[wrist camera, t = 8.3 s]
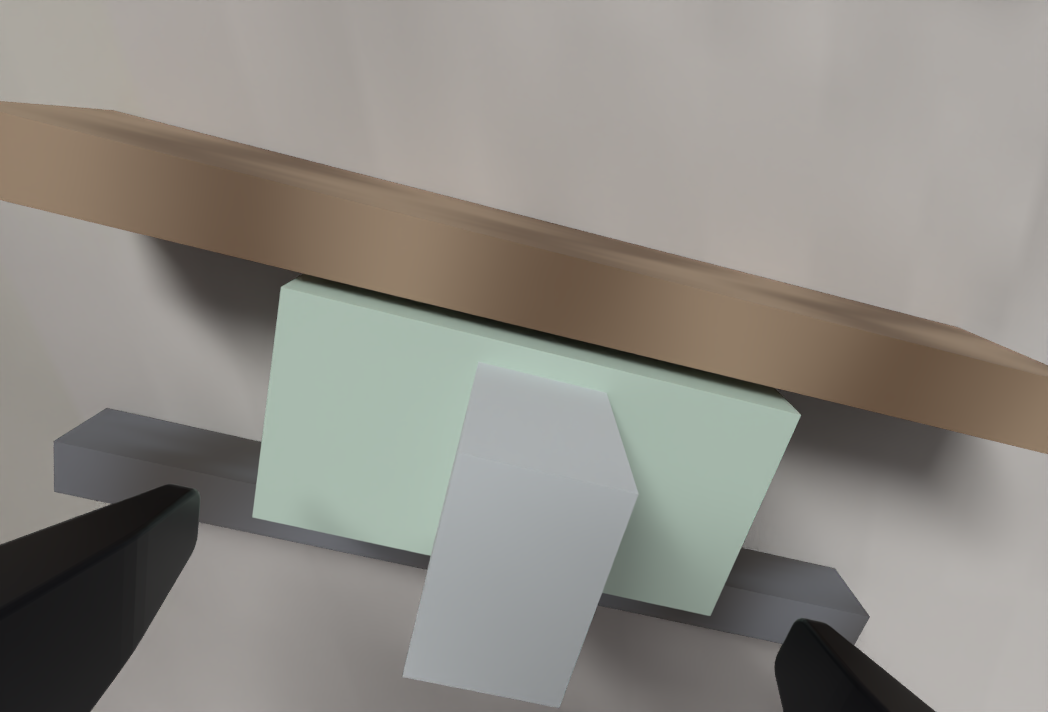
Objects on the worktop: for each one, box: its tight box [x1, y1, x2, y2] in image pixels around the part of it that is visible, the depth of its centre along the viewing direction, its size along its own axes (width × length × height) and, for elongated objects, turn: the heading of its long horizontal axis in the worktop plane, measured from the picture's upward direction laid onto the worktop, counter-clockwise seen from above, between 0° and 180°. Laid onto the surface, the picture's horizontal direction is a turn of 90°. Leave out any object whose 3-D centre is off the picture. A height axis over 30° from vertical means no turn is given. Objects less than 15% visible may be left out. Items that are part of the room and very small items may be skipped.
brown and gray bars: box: [0, 101, 1048, 645], centre depth 15 cm, size 22×10×4 cm, turn 76°
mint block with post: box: [252, 274, 801, 708], centre depth 13 cm, size 10×5×8 cm, turn 76°
